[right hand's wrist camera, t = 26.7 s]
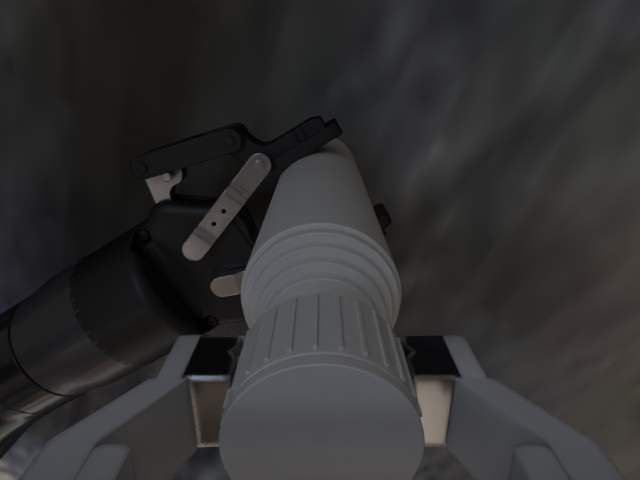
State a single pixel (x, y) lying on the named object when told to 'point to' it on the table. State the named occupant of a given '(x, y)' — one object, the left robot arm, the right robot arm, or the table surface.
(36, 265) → the table surface
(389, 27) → the table surface
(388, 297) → the bottle
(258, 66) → the table surface
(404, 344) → the right robot arm
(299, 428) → the cap
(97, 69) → the table surface
